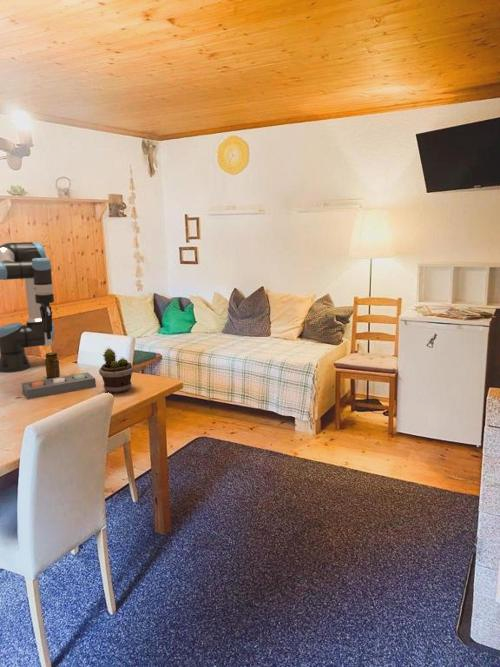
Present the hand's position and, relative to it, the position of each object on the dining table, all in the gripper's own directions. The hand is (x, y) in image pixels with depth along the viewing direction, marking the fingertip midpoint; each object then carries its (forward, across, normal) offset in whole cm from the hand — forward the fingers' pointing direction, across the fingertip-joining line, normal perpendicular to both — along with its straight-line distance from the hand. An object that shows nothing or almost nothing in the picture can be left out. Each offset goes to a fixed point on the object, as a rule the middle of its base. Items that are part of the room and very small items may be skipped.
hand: (49, 345), depth 222 cm
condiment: (+20, -15, +4) cm, 25 cm away
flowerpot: (+19, +23, +22) cm, 37 cm away
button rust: (+18, +6, -7) cm, 20 cm away
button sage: (+18, +6, +11) cm, 22 cm away
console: (+19, +6, +2) cm, 20 cm away
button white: (+18, +6, +2) cm, 19 cm away
